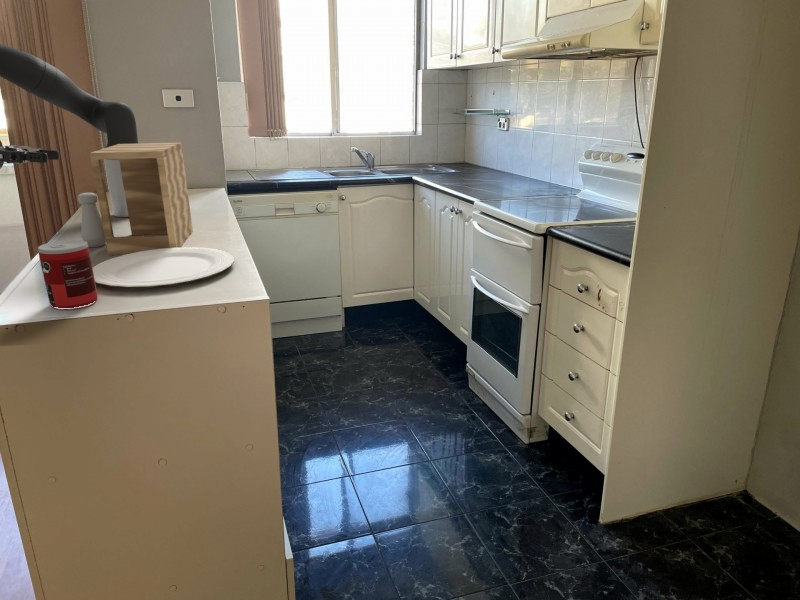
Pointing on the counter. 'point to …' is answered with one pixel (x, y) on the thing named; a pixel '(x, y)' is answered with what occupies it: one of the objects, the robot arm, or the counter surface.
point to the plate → (161, 267)
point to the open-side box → (147, 196)
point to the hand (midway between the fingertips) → (53, 156)
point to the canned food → (68, 273)
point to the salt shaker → (91, 221)
